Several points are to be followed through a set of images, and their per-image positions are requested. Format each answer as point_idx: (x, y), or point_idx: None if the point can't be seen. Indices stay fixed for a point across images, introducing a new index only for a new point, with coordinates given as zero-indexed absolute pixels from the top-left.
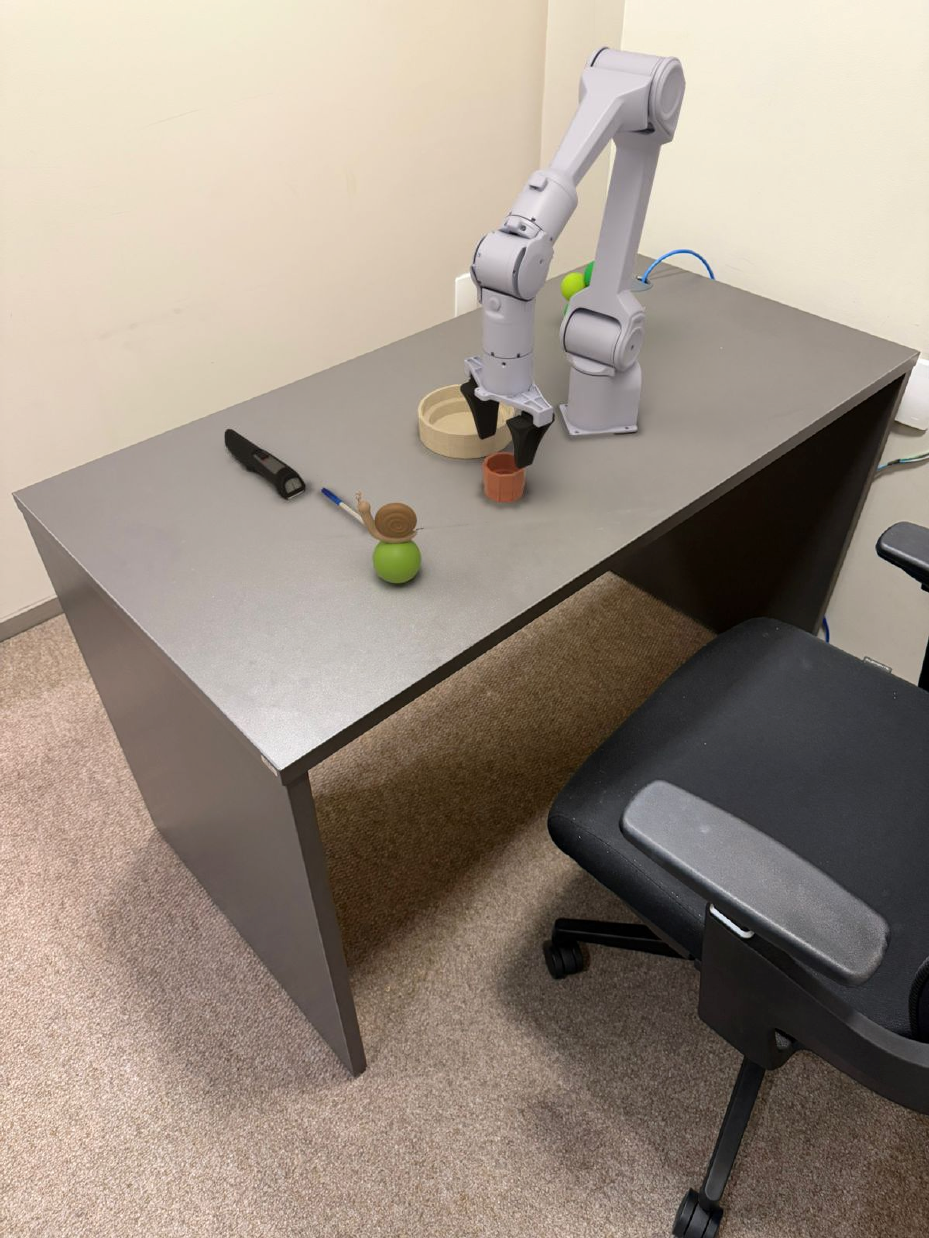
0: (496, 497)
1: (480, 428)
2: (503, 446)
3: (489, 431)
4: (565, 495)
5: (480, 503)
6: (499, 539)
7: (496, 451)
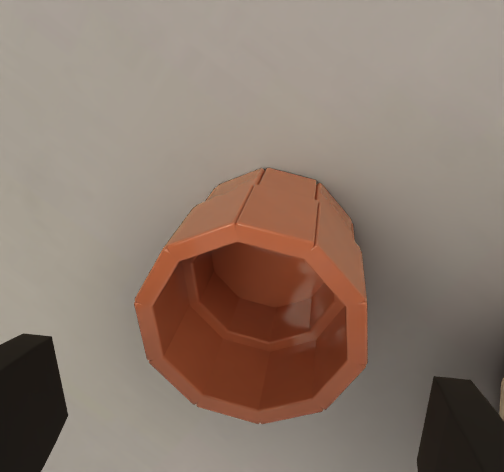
0: (222, 191)
1: (463, 449)
2: None
3: (432, 463)
4: (142, 384)
5: (277, 130)
6: (26, 41)
7: (502, 394)
